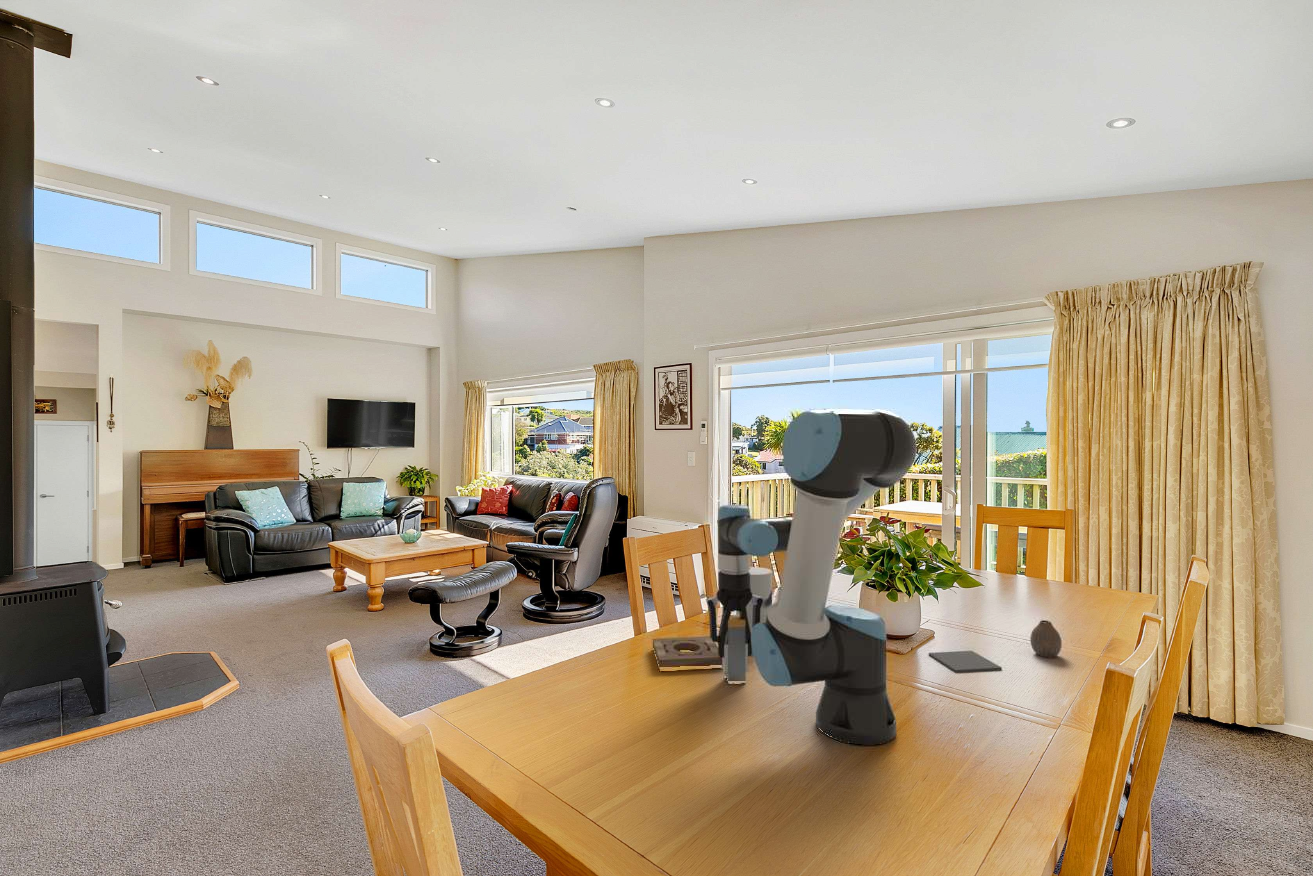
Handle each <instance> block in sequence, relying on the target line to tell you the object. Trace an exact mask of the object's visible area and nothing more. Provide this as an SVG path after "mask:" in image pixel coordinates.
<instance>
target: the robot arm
mask: <svg viewBox="0 0 1313 876" xmlns="http://www.w3.org/2000/svg"><path fill="white" fill-rule="evenodd" d="M916 454H917V441H916V437H915V435H914V432H913V431H912V429H911V426H910V425H909V424H908V423H907V422H906V420H904V419H903V418H901V417H900V416H898V415H897V414H895V413H893V412H890V411H887V410H882V409H870V410H869V409H829V408H822V409H817V410H816V409H815V410H805V411H803V412H800V413H799V414H798V415H797V416H795V417H794V418H792V420H791V421H790V422H789V424H788V426H787V428H786V430H785V432H784V436H783V438H782V444H781V456H782V457H783V458H782V460H781V462H782V467H783V470H784V471H785V473H786V474H787V476H788V477H790V481H789V482H790V484H791V486H792V487H793V488H794V489H795V490H796V496H795V502H794V509H793V514H792V516H789V517H788V516H787V517H786V516H785V517H771V518H770V517H769V518H751V513H750V512H751V511H750V508H749V506H747V505H743V504H726V505H721V506H719V508H717V510H718V511H717V520H716V522H717V548H718V549H717V551H718V552H717V556H718V557H717V559H718V561H717V562H718V564H717V568H718V570H719V571H718V574H717V575H718V576H717V578H718V579H717V580H718V590H717V592H716V595H715V596H713V597H706V599H705V601H706V604H707V606H708V616H709V636H710V638H711V639H712V641H713V642H715V643H717V647H718V654H719V656H720V658H722V670H723V672H724V674H725V673H728V644H727V643H726V641H725V638H726V633H727V628H728V627H727V619H729V618H730V615H732V612H736V611H739V613H740V616H741V618H742V619H745V666H746V673H747V672H749V657H751V656H753V659H754V663H755V665H756V668H757V670H758V671H759V672H758V673H759V674H760V676H761V677H762V679H763V681H765V682H766V683H767V684H768V685H769V686H772V687H792V686H796V685H803V684H804V685H805V684H811V683H816V682H824V687H823V689H822V693H821V695H820V699H819V702H818V705H817V707H816V711H815V724H817V725H816V727H817V726H818V727H819V728H820V729H821V730H822V731H823V732H824V733H826V734H828V735H829V736H832V737H833V738H836V739H838V740H841V741H845V742H849V743H856V744H863V745H862V746H876V745H875V744H879V745H881V744H880V743H884V744H887V743H890V742H891V741H893V740H894V739H895V738H894V737H896V736H897V719H896V716H895V714H894V710H893V707H892V704H891V701H890V699H889V698H890V697H889V695H888V692H887V641H888V637H887V631H886V629H887V628H886V622H885V620H884V618H883V617H882V616H881V615H878V614H877V613H874V612H872V611H869V610H866V609H863V608H858V607H854V606H847V605H827V600H828V596H829V592H830V591H829V590H830V586H831V581H832V578H833V576H832V575H833V572H834V567H835V562H836V557H837V553H838V548H839V542H840V538H841V533H842V528H843V524H844V521H845V520H847V519H848V518H849V517H850V516H851V515H853V514H854V512H856V510H858V509H859V508H860V507H861V506H863V505H864V504H865V503H866V502H867V501H868V500H869V499H870V498H872V497H873V496H874V495H875V494H877V493H878V492H879V491H880V490H881V489H889V488H891V487H893V486H894V485H895V484H897V483H898V482H899V481H900V480H902V479H903V478H904V477H905V475H907V473H908V472H909V471H910V469H911V467H912V466H913V464H914V462H915V459H916V456H917V455H916ZM781 552H782V553H783V552H785V558H784V563H783V570H782V574H781V581H780V586H779V593H778V598H777V601H775V602H774V603H772V605H771V606H770V607H769V609H768V612H767V618H766V622H765V623H761V622H760V608H761V606H762V603H763V599H762V598H761V597H760V596H755V595H753V594H752V592H751V589H750V573H749V570H750V567H751V556H753V557H759V558H762V557H763V558H764V557H767V556H768V555H770V554H773V553H781ZM751 599H752V604H753V617H752V631H751V632H750V627H749V622H748V618H747V611H746V606H747V605H748V603H749V602H750V600H751ZM718 602H719V603H720V604H721V606H722V610H721V611H722V615H721V619H720V624H719V628H717V610H716V607H717V606H718ZM718 629H719V630H718ZM818 727H817V728H818ZM824 733H823V734H824ZM895 735H896V736H895ZM829 736H828V737H829ZM833 738H832V739H833ZM893 738H894V739H893ZM838 740H837V741H838ZM890 740H891V741H890ZM841 741H840V742H841ZM845 742H844V743H845ZM886 742H887V743H886ZM849 743H848V744H849ZM873 744H874V745H873Z"/></svg>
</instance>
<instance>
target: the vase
mask: <svg viewBox="0 0 1313 876" xmlns="http://www.w3.org/2000/svg"><path fill="white" fill-rule="evenodd" d="M1030 645H1031V648H1032V650H1033V651H1034V653H1035V654H1036V655H1038V656H1040V657H1042V658H1051V659H1052V658H1055V657H1056V656H1058V655H1059V654H1060V653H1061V650H1062V647H1063V646H1062V645H1063V644H1062V637H1061V635H1060V633H1059V632H1058V631H1057V629H1056V628H1055V627H1054V625H1053V623H1052V622H1051V621H1049V620H1046V619H1045V620H1043V619H1041V620H1040V621H1039V622H1038V624H1037V625H1036V626H1035V627H1034V628H1033V629H1032V631H1031V634H1030Z"/></svg>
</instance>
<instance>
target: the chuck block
mask: <svg viewBox="0 0 1313 876" xmlns="http://www.w3.org/2000/svg"><path fill="white" fill-rule="evenodd" d="M653 648H654V651H655V654H656V657H657V661H658V664H659V667H680V666H710V665H722V658H720V656H719V654H718V644H716V642H713V641H712V639H711V638H710V635H708V636H706V635H705V636H687V637H686V636H684V637H681V636H680V637H666V638H665V637H663V638H660V637H659V638H652V649H653ZM680 650H690V651H693V652H681V651H680Z"/></svg>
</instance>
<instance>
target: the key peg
mask: <svg viewBox="0 0 1313 876" xmlns="http://www.w3.org/2000/svg"><path fill="white" fill-rule="evenodd" d="M727 627H728V628H727V633H726V638H725V641H726V643H727V644H728V673H725V672H724V676H725V675H726V677H727V679H728V681H746V680H747V679H746V677H747V676H746V673H747V672H746V666H745V619H742V618H741V616H740V615H736V614H731V615H730V618H729V619H727Z"/></svg>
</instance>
